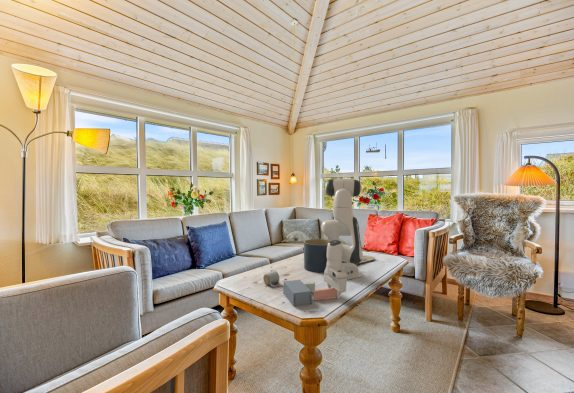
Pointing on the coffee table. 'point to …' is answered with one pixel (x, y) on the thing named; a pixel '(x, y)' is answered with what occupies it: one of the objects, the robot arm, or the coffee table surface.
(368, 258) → the newspaper
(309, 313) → the coffee table surface
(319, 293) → the pink stick
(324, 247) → the planter
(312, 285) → the mint green upright slab
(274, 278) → the ceramic mug
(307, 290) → the grey rectangular block
